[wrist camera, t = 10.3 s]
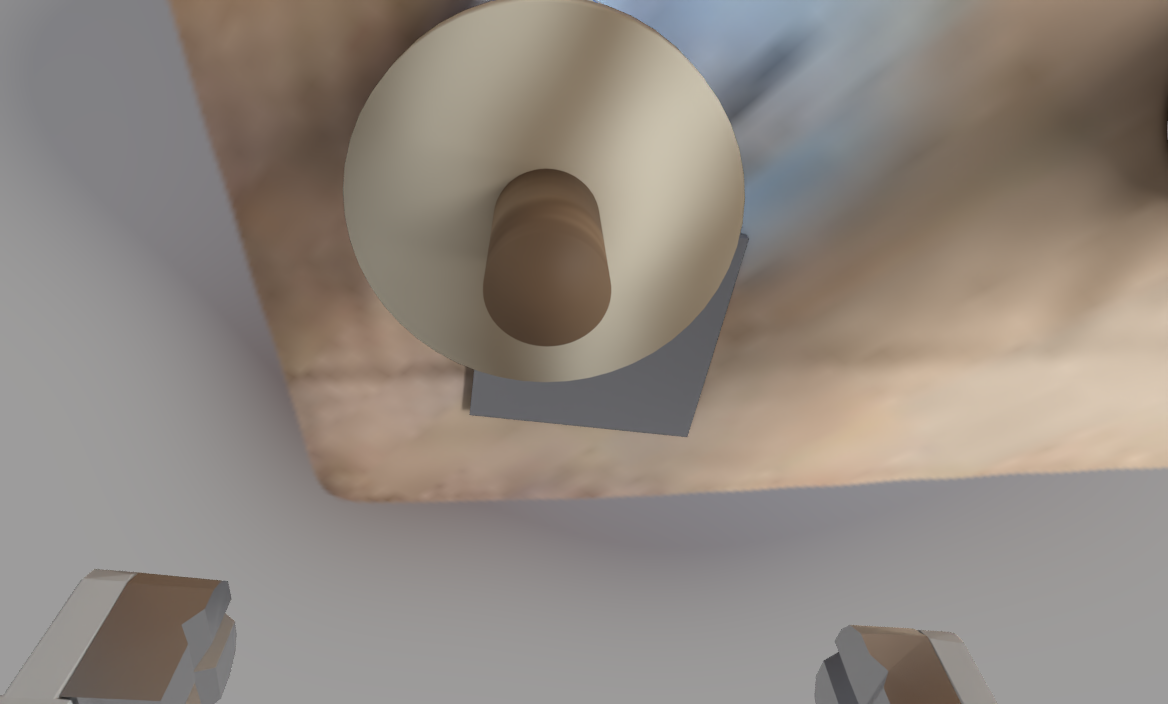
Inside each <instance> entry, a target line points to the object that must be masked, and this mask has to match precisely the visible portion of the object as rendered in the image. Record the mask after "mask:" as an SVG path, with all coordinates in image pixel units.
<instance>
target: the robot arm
mask: <svg viewBox="0 0 1168 704" xmlns="http://www.w3.org/2000/svg"><path fill="white" fill-rule="evenodd" d="M1167 138H1168V123H1167ZM230 601H231V594H230V589H229V584H228V581H221V580H210V579H200V578H188V577H179V576H168V575H157V574H147V573H137V572H126V571H113V570H100V569H94V570H93V571H92V572H91V573H89V574H88V575H87V576H86V577H84V578H83V579H82V580H81V581H80V582H79V584H78V585H77V587H76V588H75V589H74V591H73V592H72V594H71V596H70V597H69V598H68V600H67V602H66V603H65V604H64V606H63V607H62V609H61V610H60V612H59V613H58V615H57V616H56V618H55V619H54V621H53V622H52V624H51V625H50V627H49V628H48V630H47V631H46V633H45V634H44V636H43V637H42V639H41V640H40V641H39V643H38V645H37V646H36V647H35V649H34V650H33V652H32V653H31V655H30V656H29V658H28V659H27V661H26V662H25V664H24V665H23V667H22V668H21V670H20V671H19V673H18V674H17V676H16V677H15V679H14V680H13V682H12V683H11V684H10V686H9V687H8V689H7V690H6V692H5V694H4V695H0V704H214V703H216V702H217V701H218V700H219V699H221V697H222V693H223V691H224V689H225V686H226V684H227V681H228V678H229V675H230V672H231V668H232V663H233V659H234V655H235V649H236V627H235V621H234V620H233V619H231V618H230V617H229V616H228V615H227V614H226V613H225V612H226V610H227V608H228V605H229V603H230ZM835 643H836V646H837V648H838V651H839V652H838V653H836V654H834V655H833V656H831V657H829V658H827V659H826V660H824V661H823V663H822V665H821V667H820V669H819V671H818V673H817V675H816V684H815V702H816V704H997V702H996V700H995V698H994V696H993V695H992V693H991V691H990V689H989V687H988V686H987V684H986V682H985V680H984V678H983V676H982V675H981V673H980V671H979V669H978V667H977V666H976V664H975V662H974V660H973V658H972V657H971V655H970V654H969V651H968V649H967V647H966V646H965V644H964V642H963V641H962V640H961V639H960V638H959V637H958V636H957V635H956V634H955V633H951V632H942V631H924V630H915V629H909V628H893V627H873V626H857V625H849V626H847V627H845V628H843V629H841V631H840V633H839V635H838V636H837V638H836V640H835Z"/></svg>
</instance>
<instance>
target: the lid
mask: <svg viewBox="0 0 1168 704" xmlns="http://www.w3.org/2000/svg"><path fill="white" fill-rule="evenodd" d="M343 199H344V211H345V219H346V224H347V228H348V233H349V237H350V242H351V244H352V247H353V250H354V252H355V255H356V258H357V261H358V263H359V266H360V267H361V269H362V271H363V273H364V275H365V277H366V279H367V281H368V283H369V284H370V286H371V288H372V289H373V291H374V292H375V293H376V295H377V296H378V298H379V299H380V301H381V302H382V303H383V305H384V306H385V307H386V308H387V309H388V311H389V312H390V313H391V314H392V315H393V316H394V317H395V318H396V319H397V321H398V322H399V323H400V324H401V325H403V326H404V327H405V328H406V329H407V330H408V331H409V332H411V333H412V334H413V335H414V336H415V337H416V338H417V339H419V340H420V341H422V342H423V343H425V344H426V345H428V346H429V347H430V348H432V349H433V350H435V351H436V352H438V353H440V354H442V355H444V356H445V357H447V358H449V359H451V360H453V361H455V362H457V363H459V364H462V365H464V366H467V367H469V368H472V369H474V370H477V371H479V372H483V373H487V374H490V375H494V376H498V377H502V378H508V379H514V380H520V381H532V382H561V381H572V380H578V379H585V378H591V377H594V376H598V375H602V374H605V373H609V372H613V371H615V370H618V369H620V368H623V367H625V366H628V365H630V364H633V363H635V362H637V361H639V360H640V359H642V358H644V357H646V356H648V355H650V354H652V353H654V352H655V351H657V350H658V349H659V348H661V347H662V346H664V345H665V344H667V343H668V342H670V341H671V340H672V339H674V338H675V337H676V336H677V335H678V334H679V333H680V332H682V331H683V330H684V329H685V328H686V327H687V326H689V325H690V323H691V322H692V321H693V320H694V319H695V318H696V317H697V316H698V315H699V314H700V312H701V311H702V310H703V309H704V308H705V307H706V305H707V304H708V302H709V301H710V299H711V298H712V297H713V295H714V294H715V292H716V291H717V290H718V288H719V286H720V284H721V282H722V280H723V278H724V277H725V275H726V273H727V271H728V269H729V267H730V264H731V261H732V259H733V256H734V253H735V251H736V248H737V245H738V240H739V236H740V232H741V227H742V223H743V213H744V202H745V192H744V172H743V167H742V162H741V156H740V151H739V147H738V144H737V141H736V138H735V135H734V132H733V129H732V126H731V123H730V121H729V119H728V117H727V115H726V113H725V111H724V109H723V107H722V105H721V103H720V101H719V100H718V98H717V97H716V95H715V94H714V92H713V91H712V89H711V88H710V87H709V85H708V84H707V82H706V81H705V79H704V78H703V77H702V75H701V74H700V73H699V72H698V70H697V69H696V68H695V67H694V66H693V65H692V64H691V62H690V61H689V60H688V59H687V58H686V57H685V56H684V55H683V54H682V53H681V52H680V51H679V50H678V48H677V47H676V46H674V45H673V44H672V43H671V42H669V41H668V40H667V39H666V38H664V37H663V36H662V35H661V34H659V33H658V32H657V31H656V30H654V29H653V28H651V27H649V26H648V25H646V24H644V23H643V22H641V21H639V20H638V19H636V18H634V17H632V16H631V15H628V14H626V13H624V12H621V11H619V10H616V9H614V8H611V7H609V6H607V5H604V4H600V3H596V2H592V1H588V0H494V1H490V2H487V3H484V4H481V5H478V6H475V7H473V8H470V9H467V10H464V11H462V12H460V13H458V14H456V15H454V16H453V17H451V18H449V19H447V20H445V21H443V22H441V23H439V24H438V25H436V26H435V27H434V28H432V29H431V30H430V31H428V32H427V33H425V34H424V35H423V36H421V37H420V38H418V39H417V40H416V41H415V42H414V43H413V44H412V45H411V46H410V47H409V48H408V49H407V50H406V51H405V52H404V53H403V54H402V55H401V56H400V57H399V58H398V59H397V60H396V61H395V62H394V64H393V65H392V66H391V67H390V68H389V70H388V71H387V72H386V74H385V75H384V76H383V78H382V79H381V80H380V82H379V83H378V84H377V86H376V87H375V88H374V90H373V91H372V93H371V94H370V96H369V98H368V100H367V102H366V104H365V105H364V107H363V109H362V111H361V113H360V115H359V117H358V120H357V122H356V125H355V128H354V131H353V133H352V136H351V139H350V142H349V147H348V152H347V157H346V161H345V166H344V183H343Z"/></svg>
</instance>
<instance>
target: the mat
mask: <svg viewBox="0 0 1168 704" xmlns="http://www.w3.org/2000/svg"><path fill="white" fill-rule="evenodd" d="M748 240H749V239H748V237H747V235H745V234H740V236H739V240H738V245H737V248H736V251H735V253H734V256H733V259H732V261H731V264H730V267H729V269H728V271H727V273H726V275H725V277H724V278H723V280H722V282H721V284H720V286H719V288H718V290H717V291H716V292H715V294H714V295H713V297H712V298H711V299H710V301H709V302H708V304H707V305H706V307H705V308H704V309H703V310H702V311H701V312H700V314H699V315H698V316H697V317H696V318H695V319H694V320H693V321H692V322H691V323H690V325H689V326H687V327H686V328H685V329H684V330H683V331H682V332H680V333H679V334H678V335H677V336H676V337H675V338H674V339H672V340H671V341H670V342H668V343H667V344H665V345H664V346H662V347H661V348H659V349H658V350H657V351H655V352H654V353H652V354H650V355H648V356H646V357H644V358H642V359H640V360H639V361H637V362H635V363H633V364H630V365H628V366H625V367H623V368H620V369H618V370H615V371H613V372H609V373H605V374H602V375H598V376H594V377H591V378H585V379H578V380H572V381H561V382H532V381H520V380H514V379H508V378H502V377H498V376H494V375H490V374H487V373H483V372H479V371H477V370H474V377H473V387H472V397H471V407H470V415H475V416H485V417H494V418H504V419H514V420H524V421H534V422H544V423H554V424H563V425H573V426H583V427H593V428H603V429H613V430H622V431H632V432H642V433H652V434H662V435H672V436H681V437H687V436H688V433H689V430H690V426H691V423H692V420H693V417H694V414H695V410H696V407H697V404H698V401H699V398H700V394H701V391H702V388H703V385H704V382H705V378H706V375H707V372H708V369H709V365H710V362H711V359H712V356H713V353H714V349H715V346H716V343H717V340H718V337H719V333H720V330H721V327H722V324H723V320H724V317H725V314H726V311H727V308H728V304H729V301H730V298H731V295H732V292H733V288H734V285H735V282H736V279H737V276H738V272H739V269H740V266H741V263H742V259H743V256H744V253H745V250H746V247H747V243H748Z"/></svg>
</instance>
